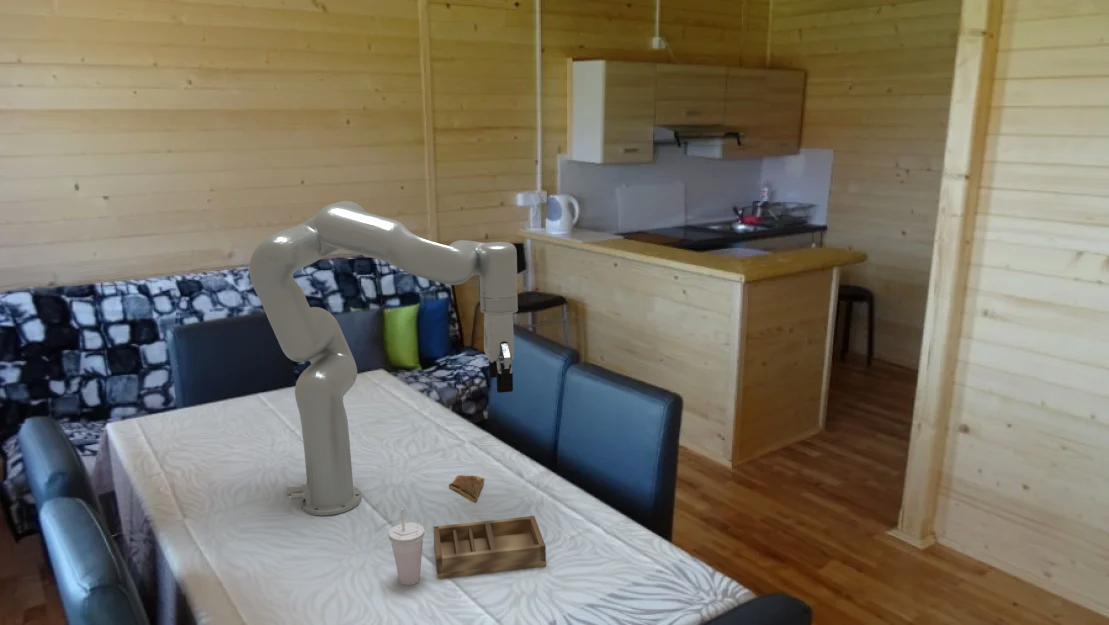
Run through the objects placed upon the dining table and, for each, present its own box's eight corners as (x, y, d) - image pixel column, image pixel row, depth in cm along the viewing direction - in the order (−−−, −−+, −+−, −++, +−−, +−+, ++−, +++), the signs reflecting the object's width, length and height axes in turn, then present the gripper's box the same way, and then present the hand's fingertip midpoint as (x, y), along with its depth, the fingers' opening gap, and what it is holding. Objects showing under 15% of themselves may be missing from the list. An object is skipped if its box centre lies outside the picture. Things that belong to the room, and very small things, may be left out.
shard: (476, 505, 172) (475, 497, 172) (441, 503, 173) (441, 496, 173) (485, 482, 183) (485, 475, 182) (453, 481, 184) (452, 474, 183)
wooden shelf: (437, 578, 144) (436, 559, 143) (434, 545, 155) (433, 526, 154) (545, 565, 147) (545, 546, 146) (534, 533, 159) (534, 515, 158)
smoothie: (393, 570, 146) (389, 501, 143) (428, 568, 147) (424, 499, 144) (389, 590, 140) (384, 518, 137) (426, 588, 141) (422, 516, 138)
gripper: (474, 295, 167) (477, 373, 171) (487, 314, 151) (489, 399, 155) (509, 293, 169) (511, 370, 173) (525, 312, 153) (526, 396, 157)
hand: (500, 384), depth 164 cm, fingers open, 9 cm apart
